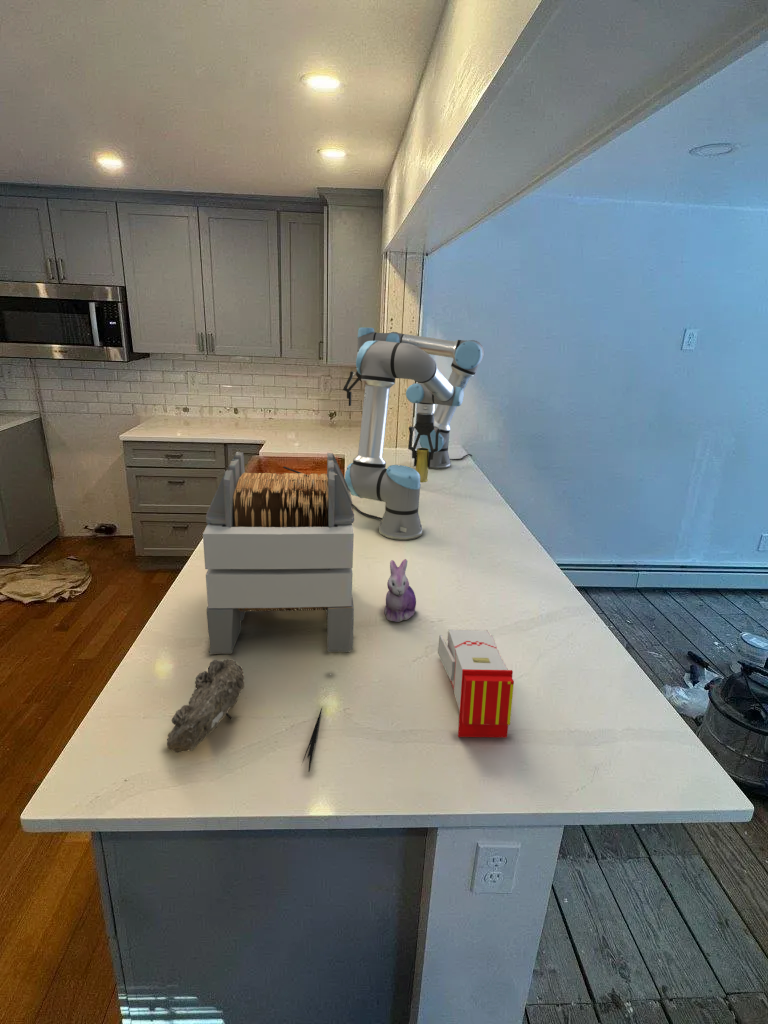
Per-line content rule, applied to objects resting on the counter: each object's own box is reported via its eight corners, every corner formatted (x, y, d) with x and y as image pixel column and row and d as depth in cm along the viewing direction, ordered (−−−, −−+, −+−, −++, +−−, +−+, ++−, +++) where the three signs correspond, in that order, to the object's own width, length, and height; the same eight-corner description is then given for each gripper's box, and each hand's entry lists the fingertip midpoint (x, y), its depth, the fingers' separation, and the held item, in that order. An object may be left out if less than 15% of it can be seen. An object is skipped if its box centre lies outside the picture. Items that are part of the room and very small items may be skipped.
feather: (331, 679, 122) (336, 673, 122) (307, 777, 96) (313, 769, 95) (324, 675, 122) (329, 669, 121) (298, 772, 95) (304, 764, 95)
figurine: (392, 627, 141) (395, 572, 136) (374, 608, 149) (376, 556, 144) (425, 619, 145) (429, 566, 140) (405, 601, 154) (408, 550, 149)
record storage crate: (229, 585, 158) (221, 442, 144) (346, 584, 161) (350, 444, 148) (206, 656, 126) (193, 481, 112) (353, 652, 130) (358, 483, 116)
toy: (488, 613, 130) (523, 677, 101) (484, 667, 133) (517, 744, 104) (435, 612, 130) (455, 676, 101) (432, 666, 133) (451, 743, 103)
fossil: (192, 660, 117) (244, 628, 112) (224, 691, 120) (276, 661, 115) (142, 746, 98) (202, 712, 93) (182, 779, 101) (242, 748, 96)
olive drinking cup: (413, 482, 248) (415, 450, 243) (414, 478, 254) (416, 446, 249) (427, 483, 247) (429, 451, 243) (428, 479, 253) (430, 447, 248)
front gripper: (403, 413, 238) (400, 466, 246) (447, 416, 236) (442, 470, 244) (404, 410, 245) (401, 462, 253) (447, 413, 243) (443, 465, 251)
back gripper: (337, 360, 267) (336, 405, 274) (390, 363, 264) (388, 409, 271) (340, 359, 274) (340, 403, 281) (392, 362, 271) (389, 406, 278)
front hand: (421, 466), depth 248 cm, fingers closed on olive drinking cup, 5 cm apart
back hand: (363, 406), depth 276 cm, fingers open, 13 cm apart
